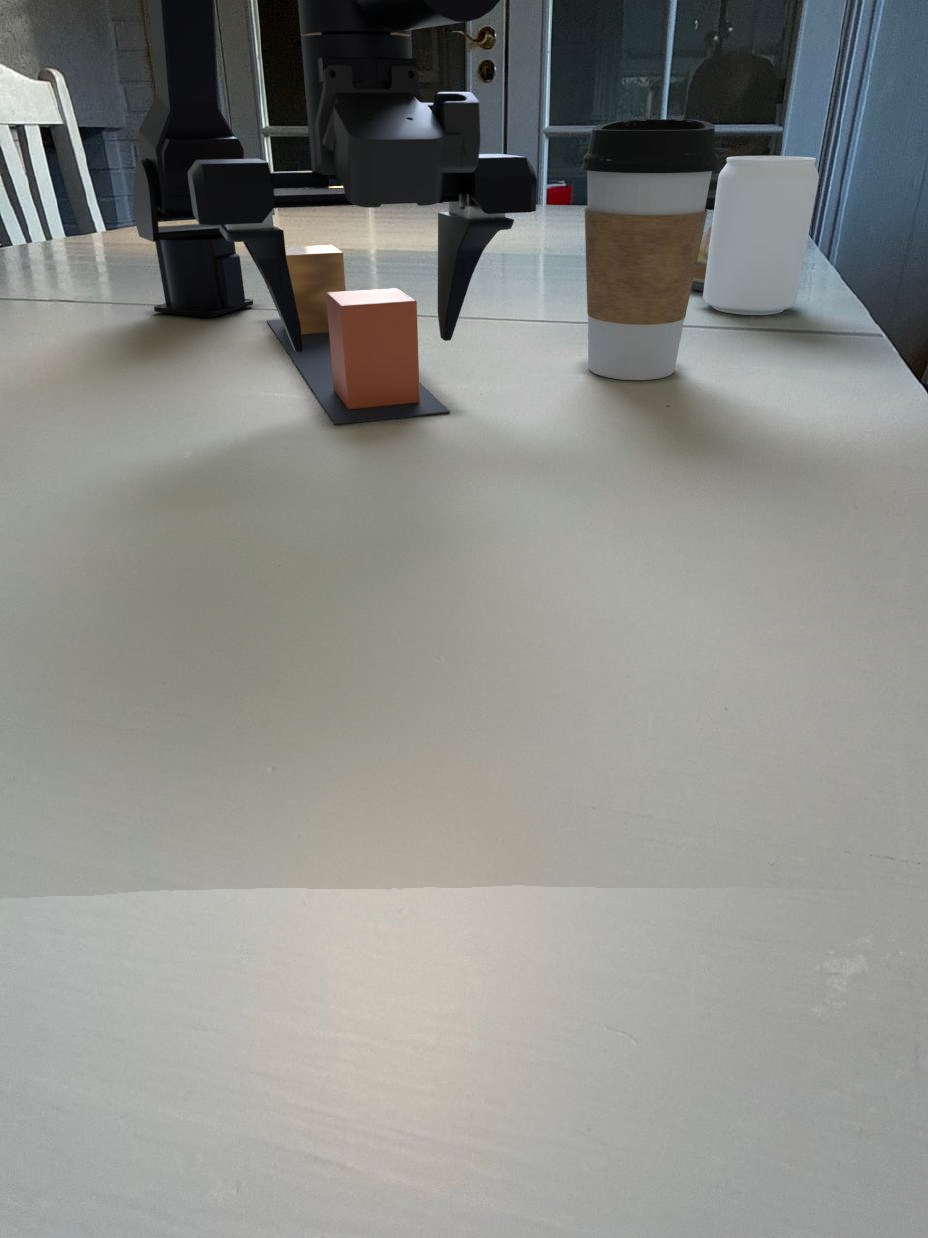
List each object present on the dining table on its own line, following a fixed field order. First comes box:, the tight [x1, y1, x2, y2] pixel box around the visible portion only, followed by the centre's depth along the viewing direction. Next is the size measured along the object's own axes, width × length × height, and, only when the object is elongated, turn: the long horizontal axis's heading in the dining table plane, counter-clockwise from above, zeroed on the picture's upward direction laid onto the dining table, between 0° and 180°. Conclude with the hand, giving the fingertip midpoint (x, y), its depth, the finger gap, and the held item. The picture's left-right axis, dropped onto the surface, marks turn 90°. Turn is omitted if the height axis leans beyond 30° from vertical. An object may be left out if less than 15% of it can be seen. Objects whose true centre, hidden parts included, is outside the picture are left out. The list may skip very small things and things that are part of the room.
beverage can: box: [702, 155, 820, 316], centre depth 75 cm, size 8×8×12 cm
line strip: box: [266, 318, 451, 426], centre depth 63 cm, size 30×7×1 cm, turn 18°
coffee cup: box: [581, 118, 720, 381], centre depth 56 cm, size 8×8×15 cm
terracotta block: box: [326, 287, 420, 410], centre depth 53 cm, size 4×4×6 cm
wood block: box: [285, 244, 347, 335], centre depth 70 cm, size 4×4×6 cm
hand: (373, 345), depth 53 cm, fingers open, 9 cm apart
